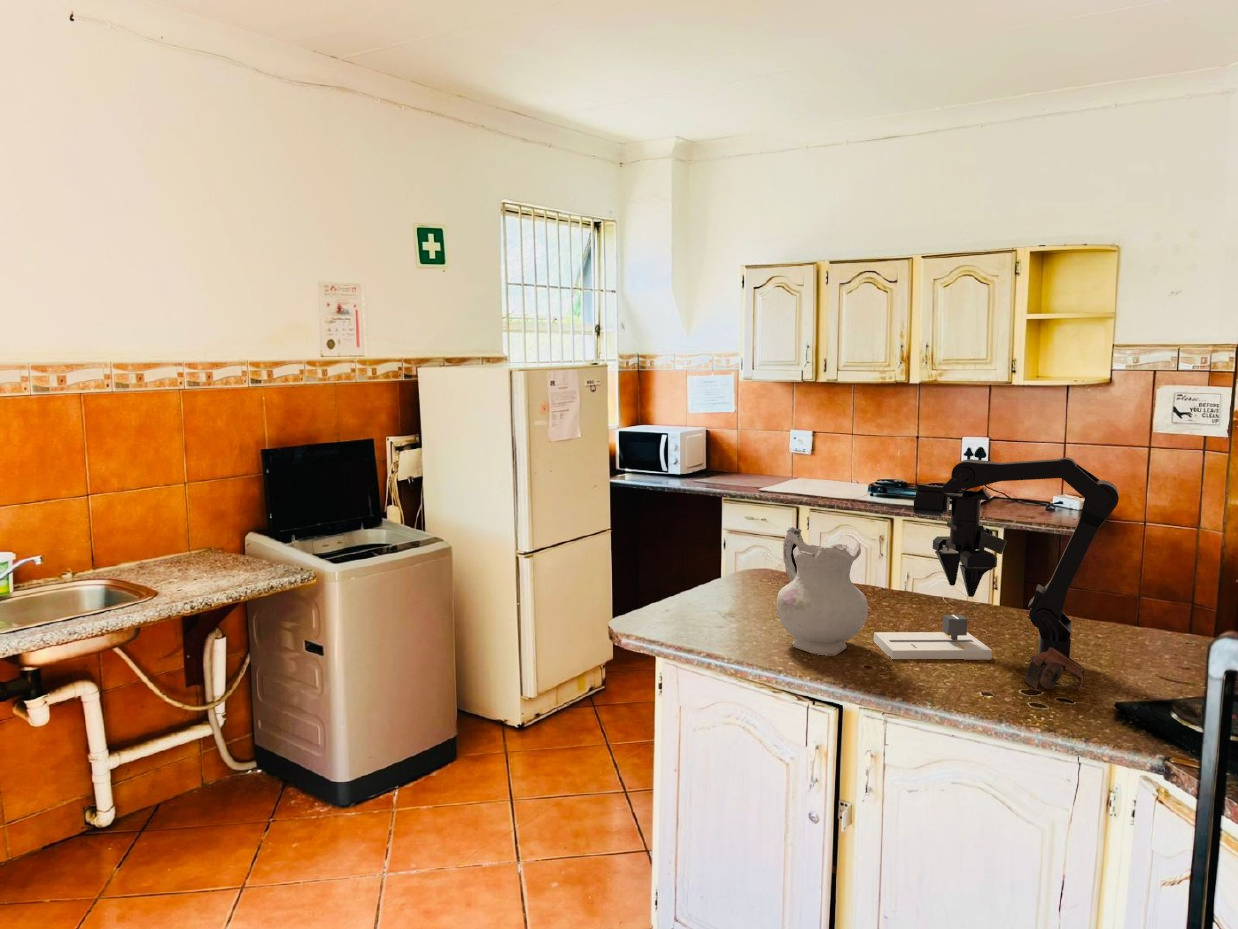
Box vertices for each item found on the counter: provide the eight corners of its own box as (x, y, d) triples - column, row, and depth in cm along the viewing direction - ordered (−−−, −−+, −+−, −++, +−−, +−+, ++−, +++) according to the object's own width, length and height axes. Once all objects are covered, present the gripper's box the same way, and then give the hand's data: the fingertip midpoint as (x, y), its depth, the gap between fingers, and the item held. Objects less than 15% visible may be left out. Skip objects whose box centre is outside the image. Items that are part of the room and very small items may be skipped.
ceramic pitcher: (750, 647, 193) (748, 537, 189) (799, 621, 207) (798, 519, 202) (836, 672, 178) (836, 554, 174) (884, 643, 192) (885, 533, 187)
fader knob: (966, 641, 187) (967, 618, 187) (947, 641, 187) (948, 619, 187) (960, 636, 190) (961, 614, 190) (942, 637, 190) (943, 614, 190)
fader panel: (991, 659, 183) (992, 649, 183) (892, 659, 183) (892, 650, 182) (967, 640, 195) (967, 632, 195) (873, 641, 194) (873, 632, 194)
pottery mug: (1021, 676, 175) (1045, 642, 174) (1067, 706, 171) (1091, 671, 170) (1017, 679, 165) (1042, 643, 164) (1065, 712, 160) (1091, 675, 159)
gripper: (1024, 527, 177) (1019, 602, 179) (982, 511, 196) (978, 579, 198) (970, 527, 177) (966, 603, 179) (933, 511, 195) (929, 580, 197)
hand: (961, 590), depth 188 cm, fingers open, 9 cm apart
